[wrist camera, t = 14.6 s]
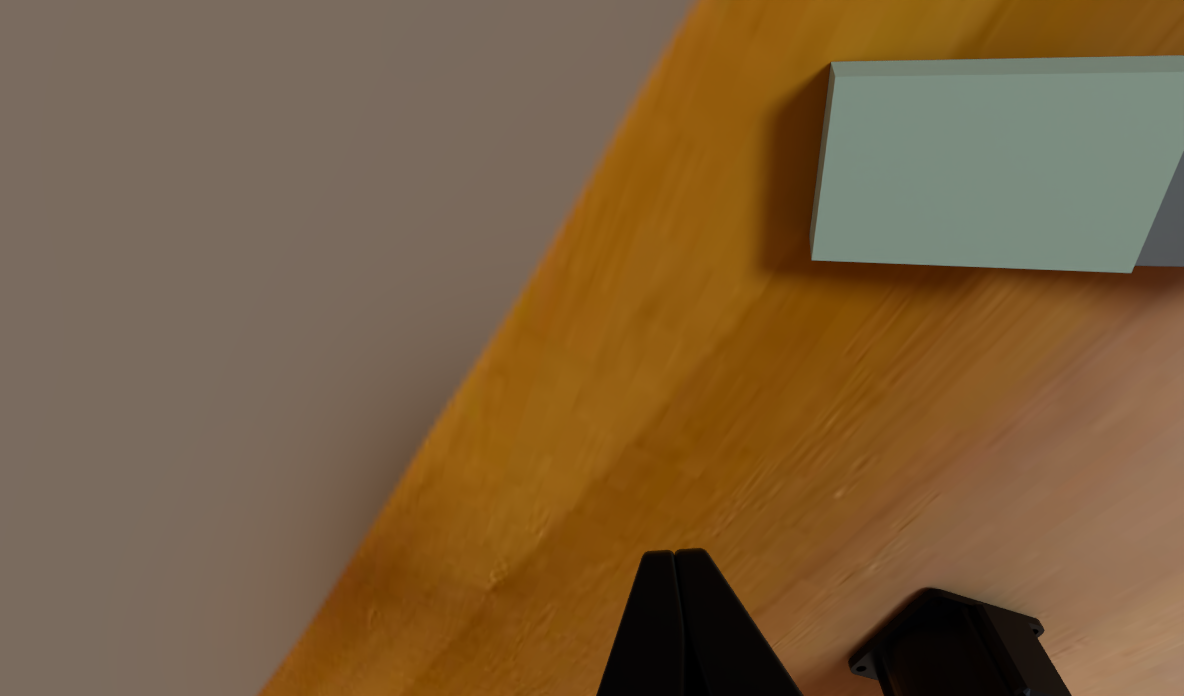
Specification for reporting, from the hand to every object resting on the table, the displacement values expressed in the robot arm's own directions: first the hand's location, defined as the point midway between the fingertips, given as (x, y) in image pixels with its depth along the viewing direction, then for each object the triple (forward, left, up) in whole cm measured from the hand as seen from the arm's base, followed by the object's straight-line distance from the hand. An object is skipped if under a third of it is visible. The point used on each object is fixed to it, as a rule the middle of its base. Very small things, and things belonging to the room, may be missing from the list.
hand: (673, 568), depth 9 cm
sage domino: (+3, -4, -12) cm, 13 cm away
